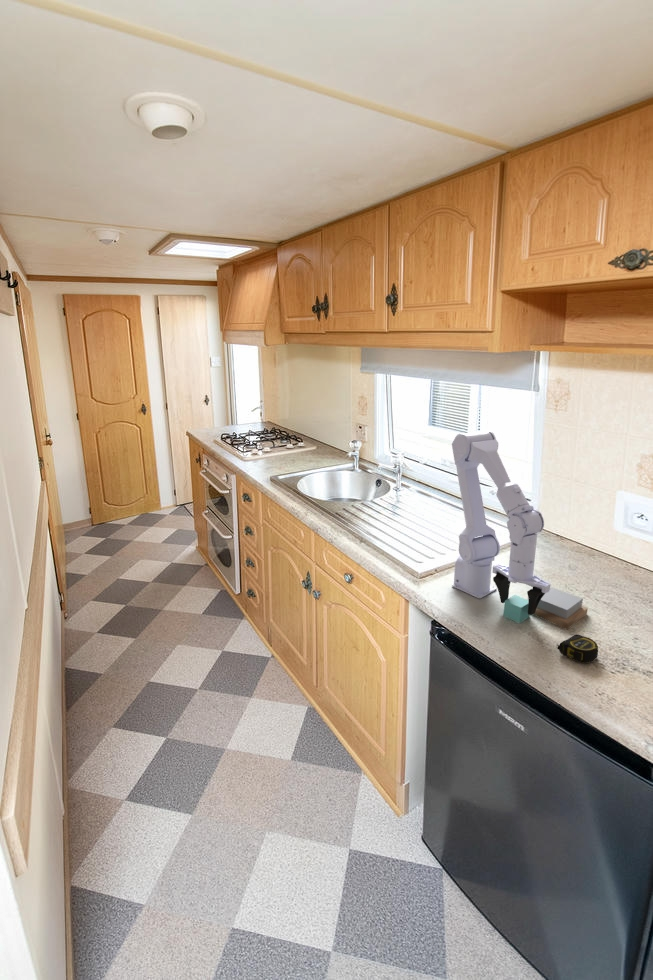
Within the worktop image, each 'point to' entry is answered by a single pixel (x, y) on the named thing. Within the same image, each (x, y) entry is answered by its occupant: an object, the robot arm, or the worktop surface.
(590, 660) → the tape measure
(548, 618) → the tower base block
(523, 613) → the teal cube
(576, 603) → the tower top block
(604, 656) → the worktop surface
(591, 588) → the worktop surface
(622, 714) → the worktop surface
